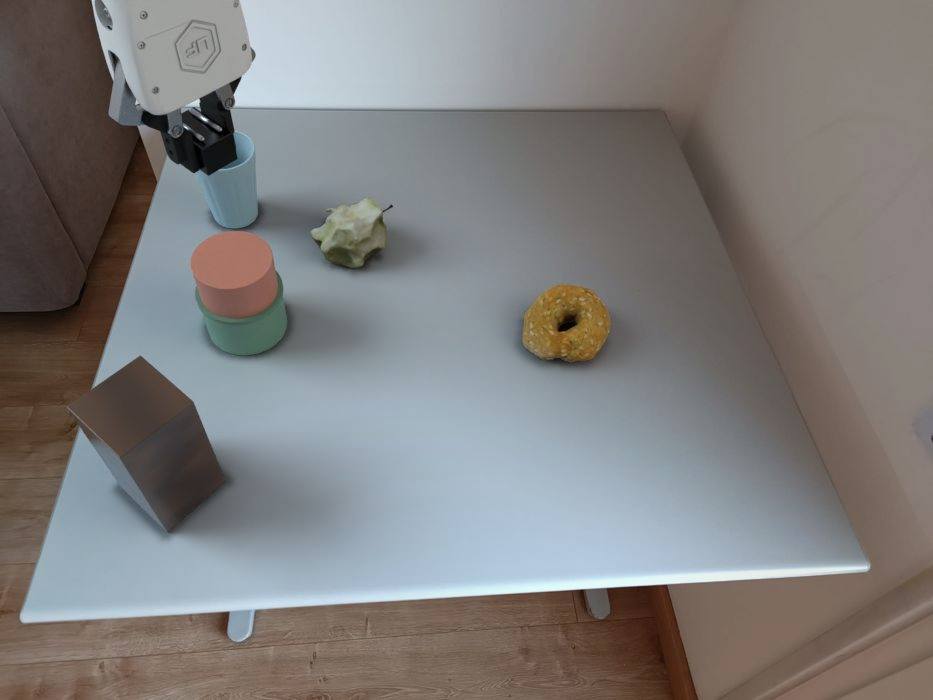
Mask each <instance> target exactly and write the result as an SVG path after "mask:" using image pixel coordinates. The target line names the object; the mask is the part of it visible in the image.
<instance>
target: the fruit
mask: <svg viewBox="0 0 933 700" xmlns="http://www.w3.org/2000/svg"><path fill="white" fill-rule="evenodd" d="M393 208H394V205H393V204H390V205H388V207H387V208H385V209H382V207H381V206H379V205H378V204H376V202H375V201H374V200H373V199H372V198H370V197H364V198H362V199H361V200H360V201H359V202H358V203H353V204H351V205H348V204H343V203H342V204H339V205H338V207H336V208H335V207H330V208H326V209H325V210H324V211H323V213H327V212H328V213H329V212H330V214H329V215H328V216H327V218H326V219H325V223H323V225H321V226H320V227H316V228H313V229H311V230H310V236H311V237H310V238H312V240H313V241H314V242H315V244H316V245H317V246H318V248H319V249H320V251H321V253H322V254H323V255H324V259H325V260H327V262H330V263H333V264H336V265H337V266H341V267H345V268H348V269H355V268H360V267H361V268H362V267H363V266H364V264H365V262H366V261H367V260H369V259H370V258H371V257H372V256H373V255H374V254H376V253H379V252H381V251H382V250H384V249H385V248H386V243H387V225H386V223H385V222H384V217H383V216H384V213H385V212H387V211H388V210H391V209H393Z"/></svg>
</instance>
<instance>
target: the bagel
mask: <svg viewBox="0 0 933 700" xmlns="http://www.w3.org/2000/svg"><path fill="white" fill-rule="evenodd" d="M610 319H611V318H610V314H609V310H608V308H607V306H606V304H605V303H604V302H603V301H602V300H601V299H600V297H599V296H598V295H597V293H596V292H595V291H593V290H592V289H591V288H589V287H585V286H582V285H574V284H569V283H568V284H564V283H559V284H557V285H555V286H552V287H550V288H549V289H547V290H546V291H545V292H543V293H542V294H540V295H538V296H537V297H536V298H535V300H534V301H533V302H532V304H531V305H530V307H529V308H528V309H527V310H526V312H525V313H524V316H523V327H522V339H521V342H522V345H523V346H524V348H526V349H527V350H528V351H529V352H530V353H532V354H533V355H535V356H536V357H537V358H540V359H541V360H543V361H550V360H551V361H553V360H554V359H561V361H565V362H569V363H575V362H586V361H587V362H588V361H590V360H592V359H594V357H595V356H596V355H597V354H598V353H599V351H601V349H602V347H603V345H604V344H605V343H606V340H607V339H608V337H609V335H610V333H611V320H610ZM571 322H572V323H573V324H574V326H572V327H571V328H569V329H567V330H563V331H560V330H559V329H560V327H561V326H562V325H564V324H569V323H571Z"/></svg>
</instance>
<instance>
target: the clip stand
mask: <svg viewBox="0 0 933 700" xmlns="http://www.w3.org/2000/svg"><path fill="white" fill-rule="evenodd" d="M66 409H67V411H68V412H69V413H70V415H71V417H73V419H74V420H75V422H76V423H77V425H78V426H79V428H80V429H81V431H82V432H83V434H84V435H85V436H86V438H87V440H88V441H89V443H90V444H91V446H92V447H93V449H94V450H95V451H96V453H97V455H98V456H99V457H100V458H101V460H102V462H103V463H104V465H105V466H106V468H107V469H108V470H109V472H110V474H111V475H112V476H113V477H114V479H115V480H116V483H118V485H119V487H120V488H121V489H122V490H123V491H124V492H125V493H126V494H127V495H128V496H129V497H130V498H131V499H132V500H133V501H134V502H135V503H136V504H137V505H138V506H139V507H140V508H142V509H143V511H144V512H146V514H148V515H149V516H150V518H151V519H153V521H155V523H157V524H158V526H160V527H161V528H162V530H164V531H165V532H166V533H168V532H170V531H171V530H173V529H174V527H176V526H177V525H178V524H179V523H181V522H182V521H183V520H184V519H185V518H186V517H187V516H188V515H190V514H191V513H192V512H193V511H194V510H195V509H197V508H198V507H199V506H200V505H201V504H202V503H204V502H205V501H206V500H207V499H208V498H209V497H210V496H211V495H213V494H214V493H215V492H216V491H217V490H218V489H220V488H221V487H222V486H223V485H224V484H225V483H227V480H226V478H225V476H224V473H223V471H222V468H221V466H220V463H219V461H218V459H217V456H216V454H215V451H214V449H213V446H212V444H211V441H210V438H209V437H208V433H207V431H206V430H205V426H204V424H203V421H202V420H201V417H200V414H199V412H198V409H197V406H196V404H195V401H194V400H192V399H191V398H190V396H188V395H186V393H184V392H183V391H182V390H181V389H180V388H179V387H178V386H176V384H174V383H173V382H172V381H171V380H170V379H168V378H167V376H165V375H164V374H163V373H162V372H161V371H159V370H158V369H157V368H156V367H155V366H154V365H153V364H151V363H150V361H148V360H147V359H145V358H144V357H143V356H142V355H138V356H137V357H136V358H134V359H132V360H131V361H130V362H129V363H127V364H125V365H124V366H123V367H121V368H119V369H118V370H117V371H116V372H114V373H113V374H111V375H110V376H108V377H107V378H105V379H104V380H103V381H101V382H100V383H98V384H97V385H95V386H94V387H92V388H91V389H89V390H88V391H87V392H86V393H85V392H84V394H82V395H81V396H79V397H78V398H76V400H74V401H72V402H71V403H69V404H68V405H66Z"/></svg>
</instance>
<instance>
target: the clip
mask: <svg viewBox="0 0 933 700" xmlns="http://www.w3.org/2000/svg"><path fill="white" fill-rule="evenodd" d="M181 115H182V122H183V128H185V129H186V130H188V131H189V132H190V133H191V135H192V137H193V141H194V147H195V151H196V155H197V159H198V162H199V166H200V168H199V170H201V171H202V172H204V173H205V174H206V175H208V176H209V175H211V174H213V173H215V172H216V171H218V170H220V169H221V168H223V167H225V166H227V165H228V164H230V163H232V162H233V161H235V160H237V159H238V158H237V153H236V148H235V144H234V139H233V134H232V132H230V131H229V130H227V129H226V128H224V127H223V126H221V125H220V124H218V123H217V122H215V121H214V120H212V119H211V118H209V117H208V116H206V115H205V114H203V113H202V112H201V110H199V109H198V108H196V107H195V106H193V107H190V108H189V109H187V110H185V111H183V112H181Z"/></svg>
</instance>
